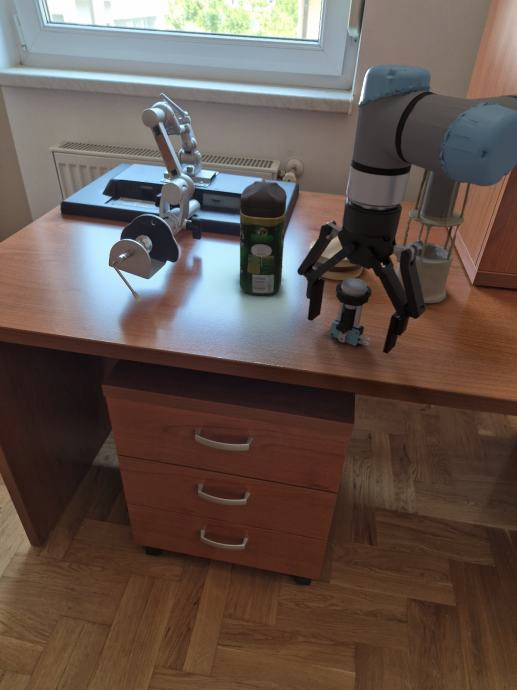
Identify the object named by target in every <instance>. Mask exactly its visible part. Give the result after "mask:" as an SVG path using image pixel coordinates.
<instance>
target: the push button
mask: <svg viewBox="0 0 517 690" xmlns="http://www.w3.org/2000/svg"><path fill="white" fill-rule="evenodd" d="M335 293H336V295H335V296H336V298H337V300H338V301H339V305H338V311H337V316H335V320H334V321H332V323H331V326H330V331H329V335H330V337H332V338H335V339H337V340H338V342H340V343H342V344H343V343H347V344H350V345H352V346H354V347H355V346H357V345H358V344H360V345H364V346H366V347H368V346H369V345H370V342H369V341H370V340H371V338H370V337H368V336H366V335H364V332H365V331H364V330H365V327H364V326H363V325H361V318H362V314H363V308H364V305H365V304H368V303H369V300H370V297H371V296H372V294H373V290H372V288H371V287H369V285H368V284H367V282H366V281H365V280H362V279H361V278H358V277H355V278H348V279H345V280H342V281H340V282H339V283H338V284H336V286H335Z"/></svg>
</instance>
